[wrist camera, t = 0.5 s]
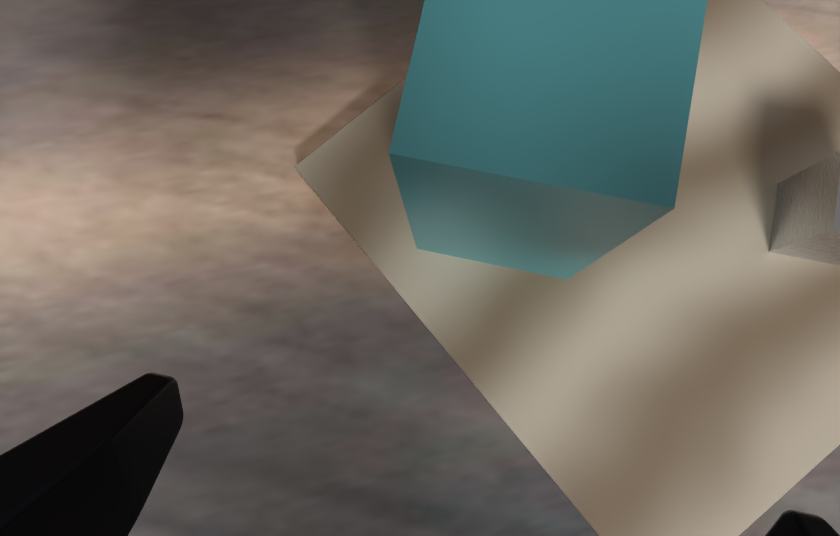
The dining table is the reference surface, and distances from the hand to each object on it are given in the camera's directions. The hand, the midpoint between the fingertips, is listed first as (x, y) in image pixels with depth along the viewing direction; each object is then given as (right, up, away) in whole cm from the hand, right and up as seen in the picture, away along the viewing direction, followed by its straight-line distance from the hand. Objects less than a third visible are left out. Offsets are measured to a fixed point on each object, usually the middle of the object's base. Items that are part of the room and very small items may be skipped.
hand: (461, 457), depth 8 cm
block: (+14, +4, +13) cm, 19 cm away
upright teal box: (+3, +6, +13) cm, 14 cm away
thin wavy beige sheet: (+8, +5, +14) cm, 16 cm away
